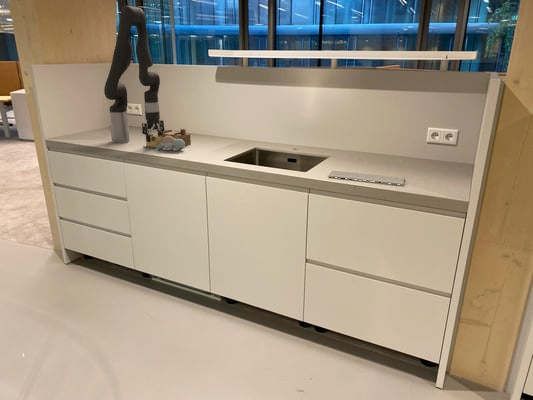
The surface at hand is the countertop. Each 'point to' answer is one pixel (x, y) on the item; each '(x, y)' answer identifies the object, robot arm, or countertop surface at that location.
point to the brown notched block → (178, 135)
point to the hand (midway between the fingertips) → (154, 140)
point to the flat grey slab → (367, 177)
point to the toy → (171, 143)
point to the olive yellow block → (154, 141)
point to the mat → (150, 147)
